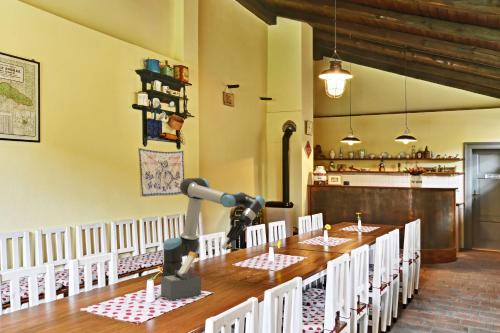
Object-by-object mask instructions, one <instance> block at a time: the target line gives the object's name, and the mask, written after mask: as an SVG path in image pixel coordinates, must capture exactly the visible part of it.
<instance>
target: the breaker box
mask: <svg viewBox="0 0 500 333" xmlns="http://www.w3.org/2000/svg"><path fill="white" fill-rule="evenodd" d="M178 271H179V270H175V275H172V276H165V277H164V276H160V296H162V295H163V296H164V297H163V296H162V297H163V298H165V297H166V298H167V300H168V299H169V300H168V301H170V300H173V301H177V300H176V299H179V300H182V299H181V298H185V299H189V298H188V297H191V298H195V297H194V296H197V297H200V296H199V295H201V296H202V276H198V274H197V275H194V274H192V273H182V277H181V276H179V275H177V272H178ZM166 298H165V299H166Z"/></svg>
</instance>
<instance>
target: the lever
mask: <svg viewBox="0 0 500 333" xmlns="http://www.w3.org/2000/svg"><path fill="white" fill-rule="evenodd" d="M197 257H198V253H197V252H196V253H194V252H191V251H190V252H189V255H188V256H186V259H185V260H184V262H183V263H182V267H181V268H180V270H179V271H178V272H177V275H179V276H181V277H182V273H187V271H188V270H189V268H190V267H192V265H193V263H194V261H195V259H196V258H197Z"/></svg>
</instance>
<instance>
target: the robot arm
mask: <svg viewBox="0 0 500 333" xmlns="http://www.w3.org/2000/svg"><path fill="white" fill-rule="evenodd" d="M179 190H180V191H179V192H180V193H181V194H182V195H184V196H187V199H188V203H187V204H188V205H187V209H186V215H185V221H184V226H183V233H181V234H180V237H171V238H168V239H165V240H164V242H163V264H162V267H161V270H162V269H163V273H161V272H160V277H165V276H172V275H175V270H180V268H181V267H182V265H183V263H182V257H188V255H189V252H190V251H191V252H194V253H196V254H197V252H198V251H199V249H200V242H199V241H200V240H198V236H197V231H198V230H197V229H198V224H199V219H200V213H201V208H202V203H203V201H204V200H206V201H208V202H213V203H216V204H220V205H221V206H223V207H224V208H228V209H229V208H235V207H237V208H238V207H244V208H245V209H244V211H243V212H242V214H240V216H239V217H238V221H237V222H236V224H234V223H233V224H232V225H231V228H230V229H229V231H228V233H227V234H226V239H225V241H224V242H223V243H222V245H221V246H220V247H221V248H222V250H224V251H225V250H227V248H228V247H229V245H231V243H232V242H233V241H236V240H237V239H238V238H239V237H240V236H241V235H243V233H245V231H247V230H248V229H247V227H249V226H250V225H251V223H252V221H254V220H255V218H256V217H257V215H258V214H259V213H260V212H261V210H262V209H263V207H265V205H266V199H264V197H262V196H261V195H259V194H258V195H255V197H253V196H251V195H249V194H247V193H245V192H243V191H237V192H236V193H235V194H233V193H228V192H224V191H221V190H217V189H215V188H211V186H210V183H209V182H208V180H207V179H205V178H204V177H203V178H202V177H191V178H190V177H189V178H185V179H183V180H182V181H181V182H180V184H179Z"/></svg>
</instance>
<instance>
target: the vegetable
mask: <svg viewBox="0 0 500 333" xmlns="http://www.w3.org/2000/svg"><path fill="white" fill-rule="evenodd" d="M187 273H192V274H194V275H197V276H198V273H197V272H196V270H194V268H193V267H192V266H190V268H189V270H188V271H187Z"/></svg>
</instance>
